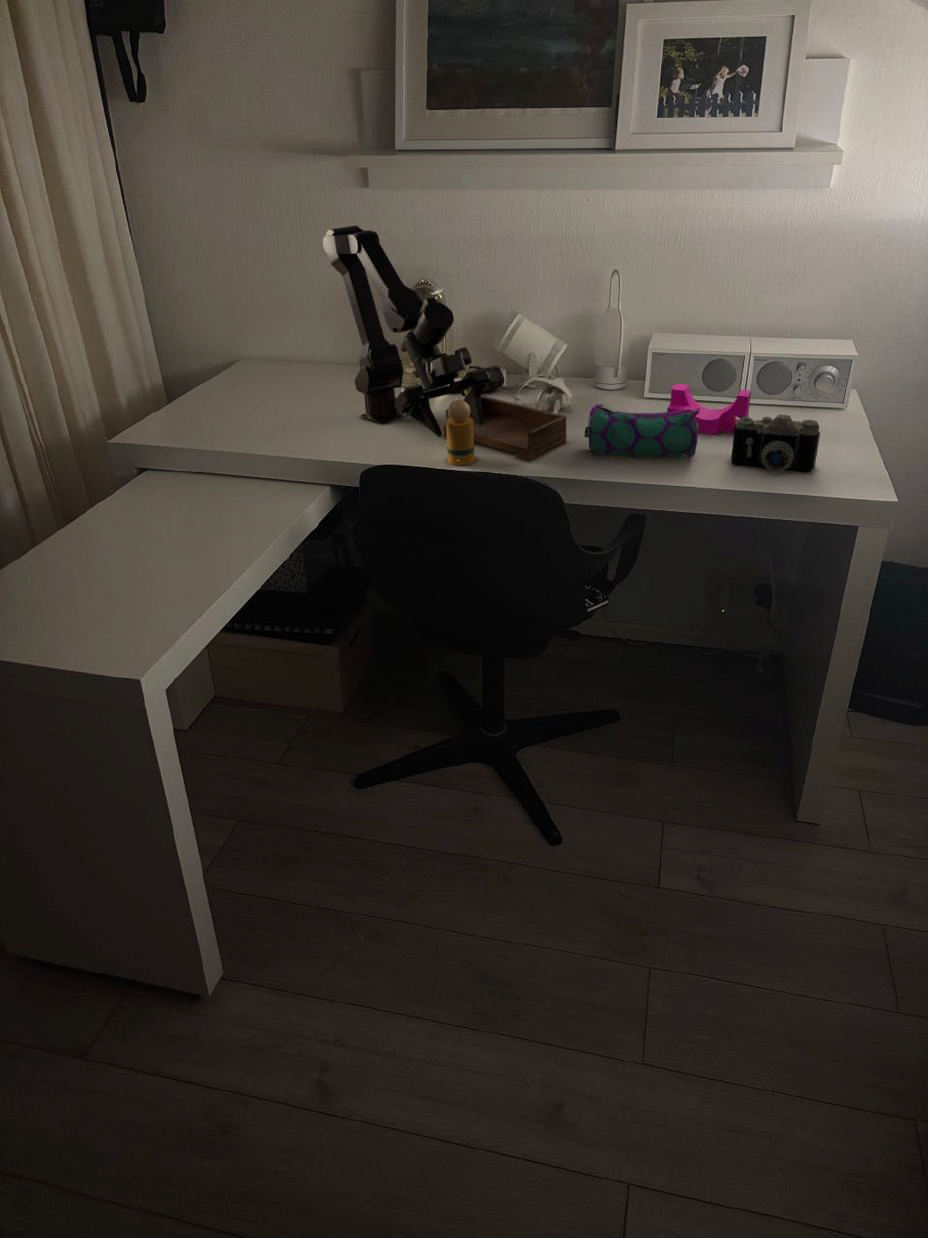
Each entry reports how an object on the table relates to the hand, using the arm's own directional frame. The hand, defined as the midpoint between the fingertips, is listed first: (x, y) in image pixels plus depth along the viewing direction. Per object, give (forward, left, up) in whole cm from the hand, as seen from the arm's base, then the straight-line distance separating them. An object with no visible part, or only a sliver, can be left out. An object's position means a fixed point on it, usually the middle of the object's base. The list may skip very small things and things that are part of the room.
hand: (461, 430), depth 183 cm
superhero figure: (-4, +33, -6) cm, 34 cm away
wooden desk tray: (-1, +13, -6) cm, 15 cm away
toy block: (+28, +42, -6) cm, 51 cm away
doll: (0, 0, -6) cm, 6 cm away
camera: (+48, +31, -6) cm, 57 cm away
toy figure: (-26, +32, -6) cm, 42 cm away
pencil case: (+25, +22, -6) cm, 35 cm away
